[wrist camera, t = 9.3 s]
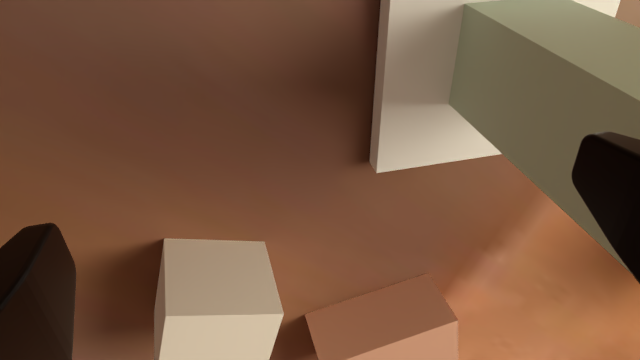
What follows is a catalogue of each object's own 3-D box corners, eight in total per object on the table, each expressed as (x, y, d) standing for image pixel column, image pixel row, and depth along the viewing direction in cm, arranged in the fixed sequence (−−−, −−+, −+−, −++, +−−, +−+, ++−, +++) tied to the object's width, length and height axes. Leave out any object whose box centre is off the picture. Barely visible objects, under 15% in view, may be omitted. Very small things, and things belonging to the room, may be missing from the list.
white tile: (369, 162, 25) (376, 173, 24) (386, -88, 19) (397, -84, 18) (560, 134, 27) (572, 143, 26) (632, -96, 21) (651, -93, 20)
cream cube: (154, 310, 27) (154, 393, 23) (164, 237, 24) (165, 316, 20) (246, 308, 29) (261, 385, 25) (264, 240, 26) (283, 314, 22)
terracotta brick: (315, 350, 33) (332, 406, 29) (303, 311, 30) (321, 368, 27) (429, 311, 33) (458, 361, 30) (427, 270, 31) (458, 320, 28)
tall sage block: (448, 103, 23) (671, 311, 13) (464, 3, 20) (757, 166, 10) (534, 92, 24) (802, 277, 14) (560, -5, 21) (911, 137, 11)
